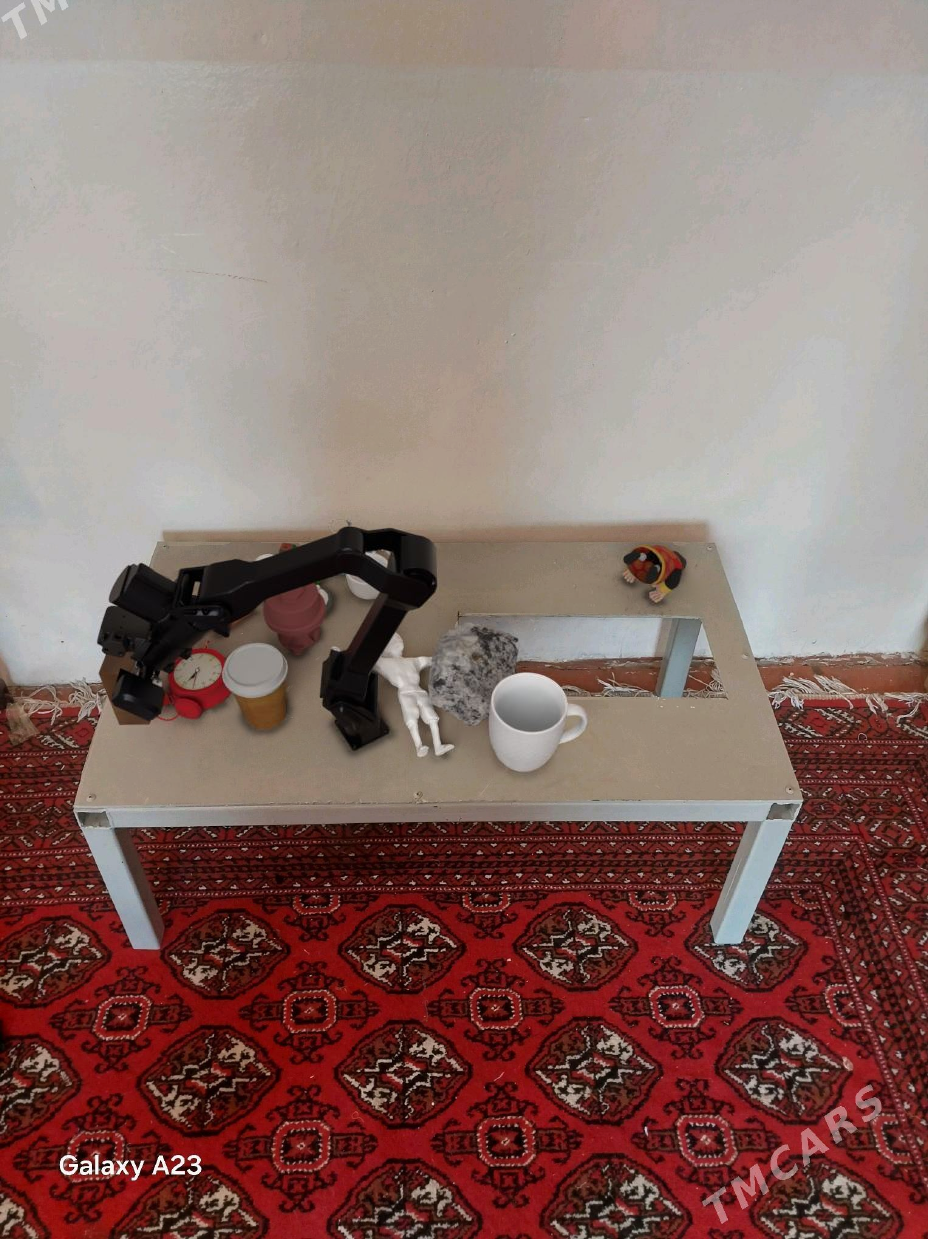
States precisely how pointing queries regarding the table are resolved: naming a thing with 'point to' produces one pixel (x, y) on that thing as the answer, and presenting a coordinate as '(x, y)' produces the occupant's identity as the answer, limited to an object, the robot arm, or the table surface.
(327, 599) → the stove knob
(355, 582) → the teacup
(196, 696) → the alarm clock
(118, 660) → the brown rectangular block
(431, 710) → the figurine
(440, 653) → the rock
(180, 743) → the table surface
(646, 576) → the figurine
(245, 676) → the disposable coffee cup
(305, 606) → the mechanical component
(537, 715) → the mug
